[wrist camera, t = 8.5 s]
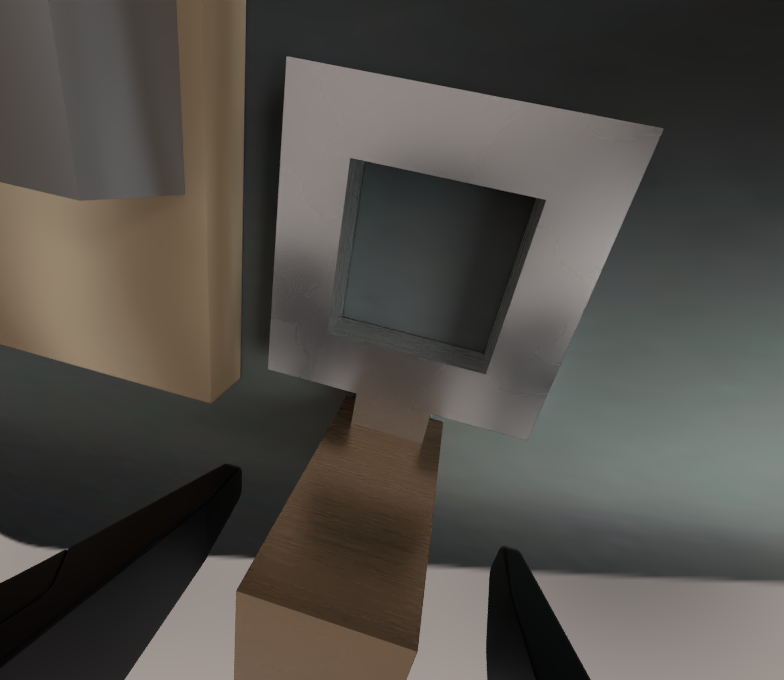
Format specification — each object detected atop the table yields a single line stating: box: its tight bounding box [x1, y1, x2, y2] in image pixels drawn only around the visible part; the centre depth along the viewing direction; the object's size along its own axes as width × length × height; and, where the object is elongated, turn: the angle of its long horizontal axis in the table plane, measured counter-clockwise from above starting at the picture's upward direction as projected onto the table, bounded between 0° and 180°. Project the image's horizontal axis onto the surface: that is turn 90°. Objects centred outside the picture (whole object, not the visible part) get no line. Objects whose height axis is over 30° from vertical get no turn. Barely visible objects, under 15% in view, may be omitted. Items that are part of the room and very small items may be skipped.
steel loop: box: [234, 56, 664, 680], centre depth 8 cm, size 7×11×6 cm, turn 169°
